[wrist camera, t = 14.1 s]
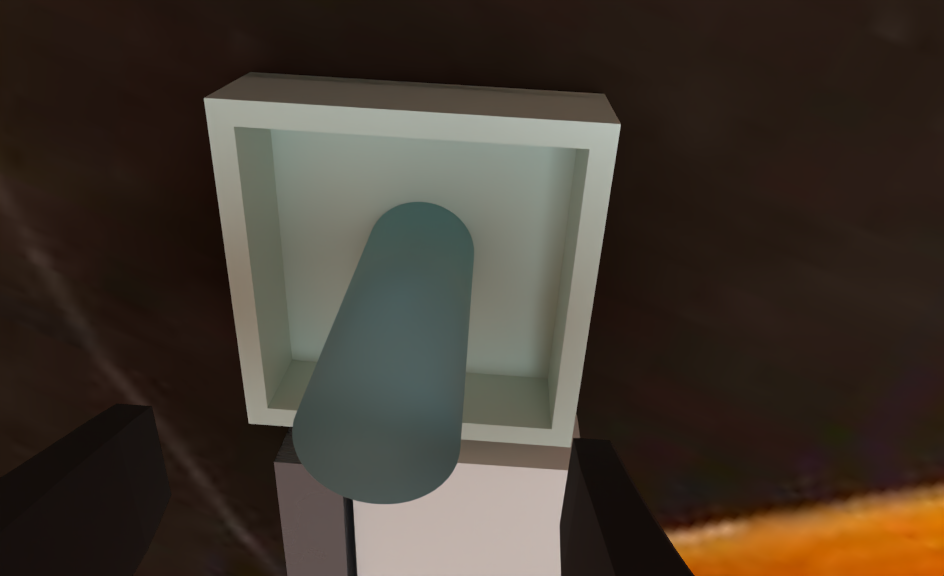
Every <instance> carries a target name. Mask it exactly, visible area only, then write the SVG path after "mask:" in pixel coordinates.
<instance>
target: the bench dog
mask: <svg viewBox="0 0 944 576" xmlns="http://www.w3.org/2000/svg"><path fill="white" fill-rule="evenodd" d="M274 467H275V475H276V483H277V492H278V500H279V509H280V517H281V525H282V534H283V542H284V550H285V559H286V567H287V575H288V576H358V575H357V558H356V542H355V526H354V510H353V500H352V499H349V498H346V497H344V496H341V495H339V494H337V493H335V492H333V491H331V490H329V489H328V488H326V487H325V486H323V485H322V484H320V483H319V482H318V481H317V480H316V479H314V478H313V477H312V476H311V475H310V474H309V472H308V471H307V470H306V469H305V467H304V466H303V465H302V463H301V462H300V460H299V458H298V456H297V454H296V451H295V448H294V444H293V439H292V427H289V429H288V432H287V434H286V436H285V438H284V441H283V443H282V445H281V447H280V450H279V452H278V454H277V456H276V459H275V461H274Z"/></svg>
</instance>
